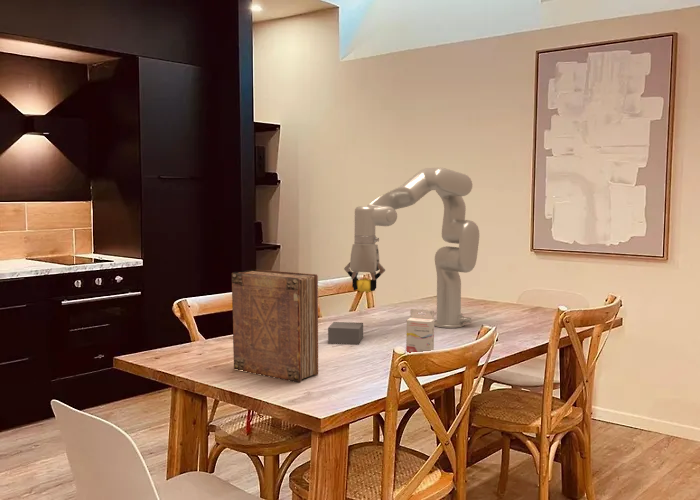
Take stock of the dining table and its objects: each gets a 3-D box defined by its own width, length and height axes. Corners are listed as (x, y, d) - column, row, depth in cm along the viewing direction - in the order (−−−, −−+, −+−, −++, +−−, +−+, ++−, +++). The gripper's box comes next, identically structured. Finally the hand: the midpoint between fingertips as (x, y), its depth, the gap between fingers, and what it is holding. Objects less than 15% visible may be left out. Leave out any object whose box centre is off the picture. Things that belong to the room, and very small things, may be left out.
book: (319, 375, 203) (318, 274, 200) (300, 382, 195) (299, 278, 192) (253, 363, 216) (252, 269, 214) (233, 370, 209) (231, 272, 206)
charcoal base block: (363, 338, 253) (363, 322, 252) (358, 345, 242) (358, 328, 241) (333, 337, 254) (333, 321, 254) (328, 344, 243) (328, 327, 243)
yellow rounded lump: (362, 290, 254) (362, 276, 254) (376, 291, 251) (376, 277, 251) (352, 292, 247) (352, 278, 246) (366, 294, 244) (366, 279, 244)
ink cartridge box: (405, 354, 227) (405, 310, 226) (409, 351, 232) (409, 308, 231) (431, 356, 225) (431, 312, 223) (434, 353, 229) (434, 309, 228)
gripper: (390, 240, 248) (390, 290, 250) (345, 239, 254) (345, 287, 255) (384, 242, 241) (384, 293, 243) (338, 240, 247) (338, 290, 248)
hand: (364, 289), depth 249 cm, fingers closed on yellow rounded lump, 5 cm apart
